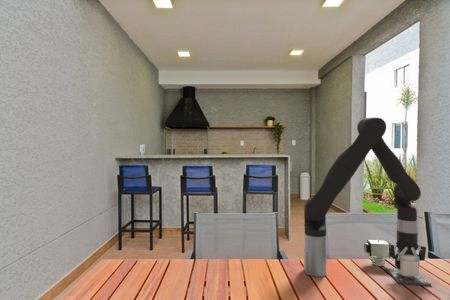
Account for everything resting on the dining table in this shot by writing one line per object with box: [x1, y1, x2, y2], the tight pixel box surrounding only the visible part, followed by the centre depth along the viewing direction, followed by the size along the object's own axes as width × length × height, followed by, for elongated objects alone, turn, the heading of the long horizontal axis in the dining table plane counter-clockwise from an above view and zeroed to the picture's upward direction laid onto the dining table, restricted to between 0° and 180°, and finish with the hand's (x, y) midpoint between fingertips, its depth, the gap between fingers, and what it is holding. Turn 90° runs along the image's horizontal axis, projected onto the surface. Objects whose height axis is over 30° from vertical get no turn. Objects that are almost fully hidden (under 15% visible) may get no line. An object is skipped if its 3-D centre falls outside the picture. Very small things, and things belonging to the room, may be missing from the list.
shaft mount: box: [385, 267, 432, 287], centre depth 119 cm, size 12×13×6 cm
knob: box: [395, 254, 420, 277], centre depth 119 cm, size 6×6×8 cm
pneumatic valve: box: [363, 239, 391, 267], centre depth 133 cm, size 6×12×12 cm, turn 78°
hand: (407, 268), depth 119 cm, fingers closed on knob, 6 cm apart
